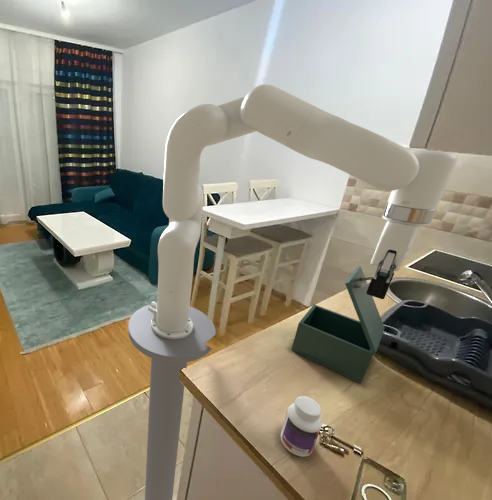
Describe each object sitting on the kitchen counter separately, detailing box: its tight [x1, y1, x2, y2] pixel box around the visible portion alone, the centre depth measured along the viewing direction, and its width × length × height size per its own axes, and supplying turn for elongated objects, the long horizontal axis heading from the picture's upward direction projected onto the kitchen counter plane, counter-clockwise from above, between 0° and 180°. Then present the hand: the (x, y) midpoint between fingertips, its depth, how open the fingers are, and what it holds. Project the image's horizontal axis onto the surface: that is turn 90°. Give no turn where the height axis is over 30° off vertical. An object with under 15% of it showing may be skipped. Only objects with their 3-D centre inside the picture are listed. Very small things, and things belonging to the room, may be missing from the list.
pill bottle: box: [280, 395, 323, 458], centre depth 52 cm, size 5×5×10 cm
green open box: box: [290, 304, 375, 385], centre depth 75 cm, size 16×13×9 cm
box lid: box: [344, 265, 386, 354], centre depth 66 cm, size 16×13×5 cm
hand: (377, 290), depth 65 cm, fingers closed on box lid, 6 cm apart
